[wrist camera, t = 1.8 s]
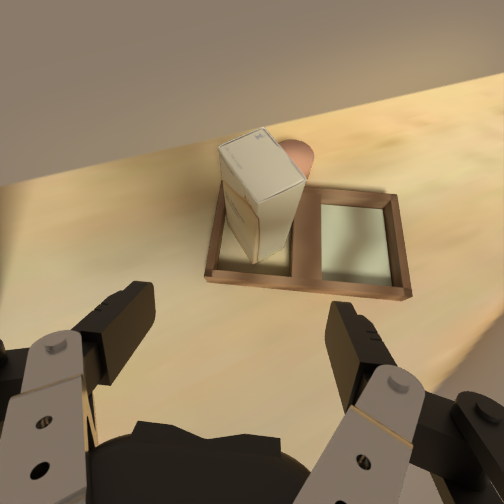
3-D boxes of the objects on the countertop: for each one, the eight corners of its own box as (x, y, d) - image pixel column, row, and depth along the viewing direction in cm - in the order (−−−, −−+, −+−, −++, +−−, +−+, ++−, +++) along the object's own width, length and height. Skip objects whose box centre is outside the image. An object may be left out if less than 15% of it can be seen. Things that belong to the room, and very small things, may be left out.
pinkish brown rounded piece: (269, 185, 33) (271, 169, 30) (272, 156, 35) (274, 138, 32) (308, 189, 33) (314, 173, 30) (309, 158, 35) (314, 141, 32)
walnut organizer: (207, 282, 28) (204, 276, 26) (223, 190, 33) (221, 180, 31) (401, 301, 27) (412, 296, 25) (388, 204, 32) (397, 194, 30)
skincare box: (227, 224, 31) (212, 144, 20) (259, 208, 32) (263, 123, 20) (253, 267, 28) (255, 204, 17) (287, 248, 29) (309, 178, 18)
